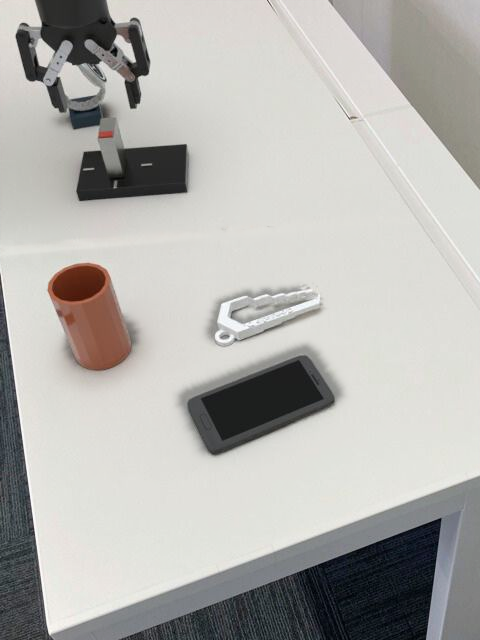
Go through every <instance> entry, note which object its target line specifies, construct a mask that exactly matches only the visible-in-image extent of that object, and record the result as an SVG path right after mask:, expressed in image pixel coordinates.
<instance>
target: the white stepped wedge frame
mask: <svg viewBox="0 0 480 640" xmlns="http://www.w3.org/2000/svg"><path fill="white" fill-rule="evenodd" d="M313 296H315V297H316V298H313V299H310V300H307V301H304V302H302V303H299V304H296V305H293V306H291V307H288V308H284V309H282V310H279V311H276V312H273V313H271V314H268V315H264V316H262V317H260V318H256V319H254V320H250V321H248V322H245V323H242V322H239V321H237V320H235V319H233V318H232V317H231V316H232V312H235V311H236V310H239V309H243V308H245V307H248V306H250V307H252V308H255V309H258V307H261V306H263V305H266V304H268V303H270V304H271V305H274V306H275V305H277V303H280V302H283V301H285V302H290V300H293V299H300V298H304V297H307V298H310V297H313ZM321 299H322V295H321V293H320V292H319V291H318V292H317V291H315V290H313V289H311V288H309V289H305V290H303V289H302V290H298V291H291V292H288V293H284V292H280V293H278V294H275V295H270V294H267V293H265V294H263V295H259V296H257V297H254V298H252V297H249V295H243V296H239V297H237V298H235V299H232V300H231V299H230V300H227V301H226V302H223V303H222V302H221V305H220V309H219V313H218V317H217V320H216V321H217V322H216V323H217V328H218V330H217V331H216V332H215V334H214V340H215V344H217V345H218V346H220V347H228V346H230V345H232V344H234V343H235V341H236V340H237V341H240V340H243V339H247V338H249V337H252V336H255V335H258V334H260V333H264V331H265V330H268V329H270V328H273V327H276V326H279V325H282V324H283V322H286V321H289V320H292V319H294V318H296V316H299V315H301V314H305V313H307V312H310V311H313V310H316V309H318V308H319V309H320V307H321ZM223 336H229V337H228V338H226V339H222V337H223Z"/></svg>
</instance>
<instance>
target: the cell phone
mask: <svg viewBox="0 0 480 640" xmlns="http://www.w3.org/2000/svg"><path fill="white" fill-rule="evenodd" d="M335 398H336V397H335V395H334V393H333V391H332V390H331V387H329V385H328V384H327V382H326V380H325V378H323V376H322V374H321V373H320V371H319V369H318V368H317V367H316V365H315V364H314V362H313V361H312V359H311V358H310V357H309V356H308V355H306V354H303V355H302V354H301V355H297V356H295V357H291V358H289V359H287V360H284V361H281V362H279V363H276V364H274V365H271V366H269V367H266V368H264V369H261V370H258V371H256V372H253V373H251V374H248V375H246V376H244V377H241V378H238V379H235V380H233V381H231V382H228V383H225V384H223V385H220V386H217V387H215V388H213V389H210V390H208V391H205V392H202V393H200V394H198V395H195V396H192V397H191V398H189V399H188V401H187V409H188V412H189V413H190V414H189V415H190V416H191V418H192V420H193V422H194V424H195V426H196V428H197V430H198V432H199V434H200V437H201V439H202V440H203V442H204V444H205V447H206V449H207V450H208V451H209V452H210V453H211V454H213V455H214V454H219V453H222V452H224V451H228V450H229V449H232V448H234V447H236V446H239V445H242V444H244V443H246V442H248V441H251V440H253V439H255V438H258V437H261V436H263V435H265V434H268V433H270V432H272V431H275V430H277V429H280V428H283V427H284V426H287V425H289V424H292V423H294V422H296V421H299V420H301V419H303V418H306V417H308V416H310V415H313V414H316V413H318V412H320V411H323V410H326V409H327V408H329V407H331V406H332V405H333V404H334V403H335V400H336V399H335Z"/></svg>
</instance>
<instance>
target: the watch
mask: <svg viewBox="0 0 480 640" xmlns="http://www.w3.org/2000/svg"><path fill="white" fill-rule="evenodd" d="M65 63H68V62H67V61H65ZM75 66H76V67H78V69H79V71H80V72H81V73H82V75H83V76H84V77H85V78H86V79H87V81H89V82H90V83H91V84H92V85H94V86H95V87H98V88H99V91H98V92H97V93H96V94H94V95H88V96H81V97H75V98H69V96H68V95H66V94H65V96H66V99H67V103H68V107H67V110H68V112H69V113H68V114H69V119H70V123H71V126H72V130H74V131H75V130H80V129H85V128H90V127H91V128H92V127H96V126H100V120H101V118H104V116H103V111H102V108H101V104H102V102H103V101H104V99H105V96H106V93H107V89H106V83H108V82H107V81H108V80H107V76H106V74H105V73H104V72H103V70H102V68H101V67H100V65H99V64H88V63H84V64H81V65H75Z"/></svg>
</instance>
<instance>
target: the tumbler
mask: <svg viewBox="0 0 480 640" xmlns="http://www.w3.org/2000/svg"><path fill="white" fill-rule="evenodd" d="M46 291H47V293H48V296H49V298H50V301H51V303H52V305H53V308H54V310H55V312H56V313H55V314H56V316H57V317H58V320H59V322H60V325H61V328H62V329H63V331H64V334H65V337H66V339H67V341H68V344H69V346H70V348H71V351H72V354H73V356H74V358H75V360H76V362H77V363H78V365H80V366H81V367H83V368H85V369H87V370H91V371H103V370H108V369H111V368H114V367H115V366H118V365H119V364H121V363H122V362H123V361H125V360H126V358H127V357H128V356H129V355H130V352H131V350H132V341H131V336H130V334H129V329H128V327H127V324H126V320H125V318H124V315H123V312H122V308H121V306H120V302H119V299H118V296H117V292H116V290H115V287H114V284H113V281H112V278H111V275H110V274H109V272H108V269H107V268H105V267H103V266H101V265H100V264H97V263H91V262H80V263H74V264H71V265H68V266H65V267H64V268H61V269H60V270H59V271H57V272H56V273H55V274H54V275H52V277H51V278H50V280H49V281H48V285H47V290H46Z"/></svg>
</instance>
